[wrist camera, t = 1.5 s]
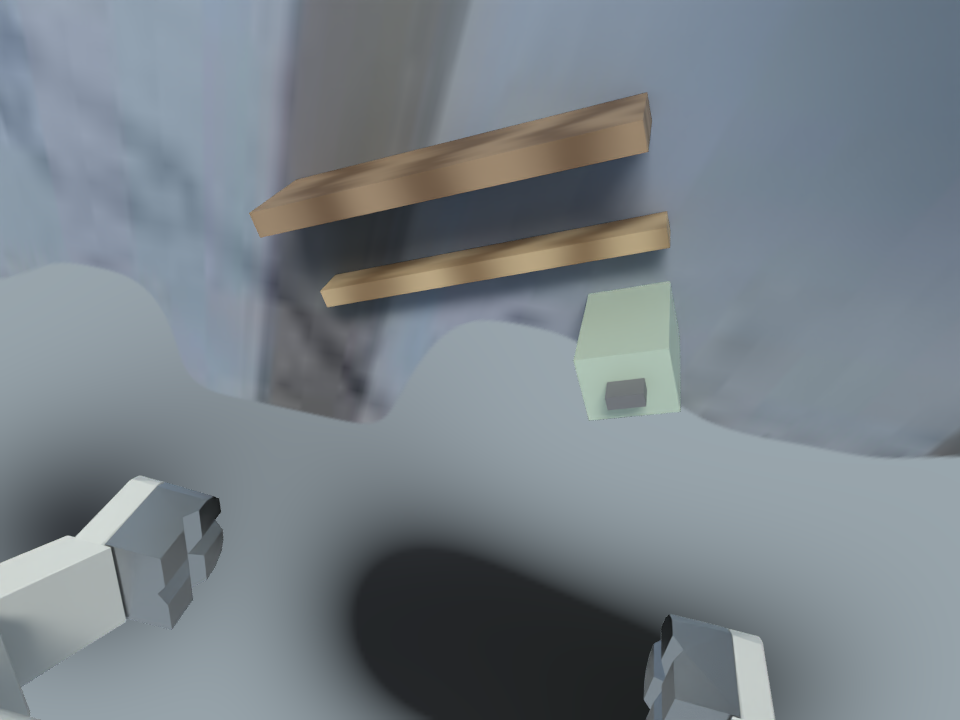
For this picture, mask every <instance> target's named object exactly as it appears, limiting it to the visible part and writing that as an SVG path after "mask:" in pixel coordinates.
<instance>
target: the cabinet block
mask: <svg viewBox="0 0 960 720" xmlns="http://www.w3.org/2000/svg"><path fill="white" fill-rule="evenodd" d="M573 361H574V364H575V369H576V373H577V377H578V380H579V384H580V388H581V392H582V396H583V400H584V403H585V407H586V411H587V415H588V419H589V421H590V420H601V419H611V418H621V417H632V416H642V415H653V414H663V413H673V412H681V404H680V336H679V330H678V324H677V318H676V312H675V307H674V301H673V295H672V289H671V284H670V281H668V282H661V283H655V284H649V285H642V286H636V287H630V288H623V289H617V290H611V291H604V292H598V293H592V294H588V299H587V303H586V308H585V312H584V316H583V321H582V325H581V329H580V334H579V338H578V342H577V347H576V351H575V356H574V360H573Z"/></svg>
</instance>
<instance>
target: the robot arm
mask: <svg viewBox="0 0 960 720" xmlns="http://www.w3.org/2000/svg"><path fill="white" fill-rule="evenodd" d="M220 513H221V508H220V501H219V498H216V497H214V496H211V495H208V494H204V493H201V492H197V491H194V490H190V489H187V488H184V487H180V486H176V485H173V484H170V483H166V482H162V481H158V480H155V479H151V478H147V477H144V476H138V477H135V478H133V479H131V480H130V481H129V482H128V483H127V484H126V485H125V486H124V487H123V488H122V489H121V490H120V491H119V492H118V493H117V494H116V496H114V497H113V498H112V499H111V501H110V502H109V503H108V504H107V505H106V506H105V507H104V508H103V509H102V510H101V511H100V512H99V513H98V514H97V515H96V516H95V517H94V518H93V519H92V520H91V521H90V522H89V523H88V524H87V525H86V526H85V527H84V528H83V530H82V531H81V532H80V533H79V534H78V535H77V536H76V537H71V536H65V537H63V538H60V539H58V540H55V541H53V542H50V543H48V544H46V545H43V546H41V547H38V548H36V549H34V550H31V551H29V552H26V553H24V554H21V555H19V556H16V557H14V558H12V559H9V560H7V561H4V562H2V563H0V720H39V719H36V718H33V717H30V710H29V707H28V705H27V702H26V699H25V697H24V694H23V691H22V689H21V687H22V686H24V685H25V684H27V683H29V682H30V681H32V680H33V679H35V678H37V677H38V676H40V675H42V674H43V673H44V672H46V671H48V670H50V669H51V668H53V667H54V666H56V665H58V664H59V663H61V662H62V661H64V660H65V659H67V658H69V657H70V656H72V655H73V654H75V653H77V652H78V651H80V650H81V649H83V648H85V647H86V646H88V645H89V644H91V643H92V642H94V641H95V640H97V639H99V638H100V637H102V636H104V635H105V634H107V633H109V632H110V631H112V630H113V629H115V628H117V627H118V626H120V625H121V624H123V623H124V622H126V619H130V620H135V621H139V622H142V623H146V624H150V625H155V626H158V627H163V628H166V629H171V630H172V629H173V628H174V626H175V625H176V623H177V622H178V620H179V619H180V618H181V616H182V615H183V613H184V611H185V610H186V609H187V607H188V606H189V605H190V603H191V602H192V600H193V595H192V587H194V586H196V585H198V584H199V583H201V582H204V581H205V580H207V579H208V577H209V576H210V574H211V573H212V571H213V570H214V568H215V566H216V564H217V561H218V559H219V556H220V554H221V551H222V545H223V529H222V528H221V527H220V525H219V524H218V523H217V522H216V518H217V517H218V515H219V514H220ZM644 700H645V702H646V704H647V705H648V707H649V708H650V711H649V714H648V716H647V718H646V720H775V715H774V709H773V702H772V696H771V690H770V684H769V678H768V672H767V665H766V659H765V653H764V647H763V642H762V641H761V639H760V637H759V636H755V635H751V634H747V633H743V632H739V631H735V630H731V629H727V628H725V627H721V626H717V625H713V624H709V623H705V622H701V621H697V620H693V619H689V618H685V617H681V616H677V615H673V614H668V616H667V617H665V620H664V622H663V624H662V626H661V641H659V642H656V643H654V645H653V648H652V650H651V653H650V655H649V659H648V664H647V669H646V672H645V683H644Z"/></svg>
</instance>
